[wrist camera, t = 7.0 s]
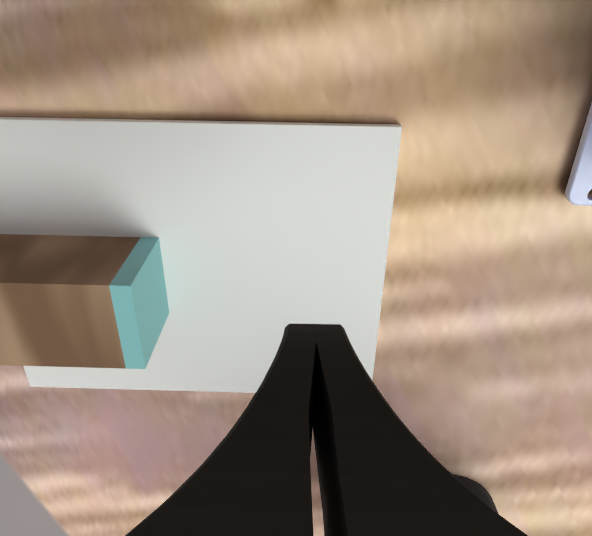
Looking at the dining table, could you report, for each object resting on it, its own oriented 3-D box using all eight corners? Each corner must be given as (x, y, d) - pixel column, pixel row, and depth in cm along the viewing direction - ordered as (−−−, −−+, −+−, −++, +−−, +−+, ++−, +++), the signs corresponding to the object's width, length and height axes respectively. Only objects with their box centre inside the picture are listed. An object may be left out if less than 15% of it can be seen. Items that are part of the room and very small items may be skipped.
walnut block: (130, 285, 18) (-111, 280, 19) (145, 369, 20) (-73, 363, 21) (159, 237, 22) (-45, 233, 22) (169, 312, 24) (-17, 307, 24)
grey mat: (400, 124, 20) (401, 127, 19) (369, 390, 27) (370, 396, 26) (-54, 115, 20) (-61, 118, 20) (33, 381, 27) (30, 386, 27)
